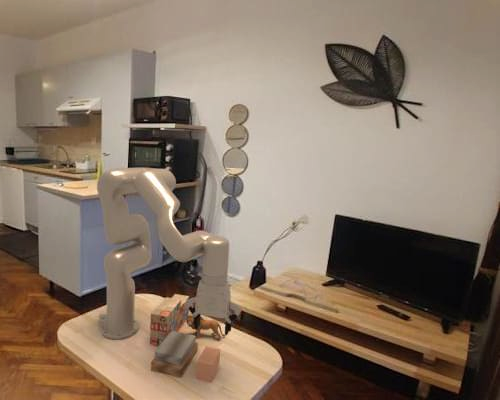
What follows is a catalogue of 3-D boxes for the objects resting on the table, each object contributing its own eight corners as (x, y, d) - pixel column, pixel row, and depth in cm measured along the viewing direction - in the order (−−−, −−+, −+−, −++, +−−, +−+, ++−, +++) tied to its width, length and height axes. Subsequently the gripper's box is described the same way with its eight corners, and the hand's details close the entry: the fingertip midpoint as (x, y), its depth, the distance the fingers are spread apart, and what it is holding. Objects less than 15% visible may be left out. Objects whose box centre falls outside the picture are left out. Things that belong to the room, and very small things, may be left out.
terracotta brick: (195, 378, 103) (196, 361, 102) (204, 362, 110) (205, 346, 109) (211, 382, 102) (212, 365, 101) (219, 365, 110) (220, 349, 108)
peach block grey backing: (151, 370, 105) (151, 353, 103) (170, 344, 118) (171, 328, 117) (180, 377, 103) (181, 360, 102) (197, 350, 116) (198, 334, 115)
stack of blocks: (174, 314, 138) (175, 286, 135) (188, 317, 137) (190, 289, 134) (149, 345, 117) (150, 312, 115) (166, 348, 116) (167, 316, 114)
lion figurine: (184, 340, 121) (186, 317, 119) (186, 332, 126) (187, 310, 125) (225, 341, 123) (227, 318, 121) (225, 332, 128) (226, 311, 126)
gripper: (182, 278, 98) (180, 331, 101) (239, 287, 95) (236, 342, 98) (192, 269, 105) (190, 319, 108) (245, 277, 102) (242, 328, 105)
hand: (212, 329), depth 103 cm, fingers open, 9 cm apart
